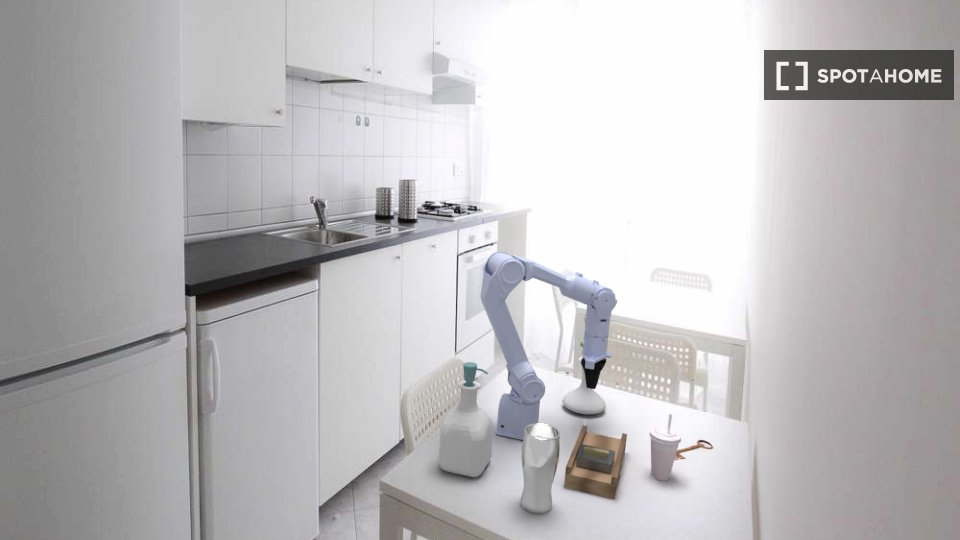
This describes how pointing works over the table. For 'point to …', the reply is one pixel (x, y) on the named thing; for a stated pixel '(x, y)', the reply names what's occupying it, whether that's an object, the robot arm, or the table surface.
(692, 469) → the table surface
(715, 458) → the table surface
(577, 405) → the flower in vase
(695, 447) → the key
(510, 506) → the table surface
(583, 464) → the lever cap
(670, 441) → the smoothie
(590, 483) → the wooden tray
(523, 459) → the beer glass
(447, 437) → the soap bottle
